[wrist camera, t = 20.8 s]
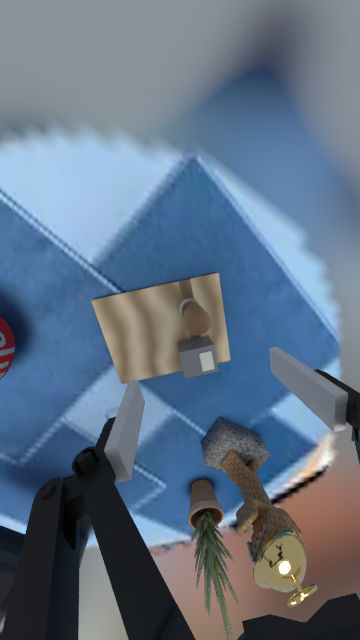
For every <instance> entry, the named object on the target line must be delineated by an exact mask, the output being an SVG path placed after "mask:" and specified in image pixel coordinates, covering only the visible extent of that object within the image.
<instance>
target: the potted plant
mask: <svg viewBox="0 0 360 640" xmlns="http://www.w3.org/2000/svg"><path fill="white" fill-rule="evenodd" d="M188 517H189V524H190V525H191V527H193V528H195V530H194V532H193V535H194V536H193V535H192V537H193V538H192V540H191V542H192V541H193V539H194V538H195V537H196V535H197V534H198V533H199V532H200V534H199V538H198V540H197V543H196V545H197V547H196V551H195V555H194V558H195V557H196V555H197V558H196V565H195V566H196V567H195V572H196V568H197V563H198V559H199V555H200V551H201V555H200V561H199V568H198V575H197V585H196V586H197V587H198V582H199V577H200V573H201V569H202V567H203V565H204V576H205V606H206V612H207V603H208V613H209V617H210V593H211V576H212V580H213V583H214V585H215V590H216V595H217V593H218V595H217V600H218V597H219V602H220V607H221V612H222V616H223V621H224V626H225V631H226V635H227V639H228V640H230V639H229V633H230V636H231V640H234V638H233V633H232V629H231V624H230V620H229V615H228V612H227V607H226V603H225V599H224V595H223V591H222V588H221V584H220V581H219V577H218V574H219V576H220V579H221V581H222V583H223V586H224V588H225V590H226V587H225V583H224V580H225V582H226V584H227V585H228V587H229V589H230V591H231V593H232V595H233V596H234V598H235V600H236V601H237V598H236V595H235V593H234V590H233V588H232V586H231V584H230V582H229V580H228V578H227V575H226V573H225V571H224V569H223V567H222V565H221V564H220V561H221V562H222V563H223V565H224V567H225V568H226V570H227V571H228V569H227V566H226V564H225V562H224V560H223V558H222V556H221V554H220V553H222V554H223V555H224V556H225V557H226V555H225V554H224V552H223V550H222V549H221V548H220V546H219V545H218V543H219V544H220V545H221V547H222V548H223V549H224V551H225V552H226V554H227V555H228V556H229V557H230V559H231V560H232V561H233V558H232V556H231V555H230V553H229V552H228V550H227V549H226V548H225V546H224V545H223V543H222V542H221V541H220V540H219V538H218V537H217V535H216V534H215V533H214V531H215V532H216V533H217V534H219V535H220V536H221V537H222V538H223V536H222V535H221V534H220V532H219V531H218V530H217V529H216V528H215V526H216V527H217V528H218V526H217V525H218V524H219V523H221V521H222V520H223V517H224V515H223V511H222V507H221V505H220V504H219V503H218V501H217V499H216V497H215V494H214V492H213V489H212V486H211V484H210V482H209V481H207V480H204V479H202V480H197V481H195V482H194V483H193V484H192V489H191V501H190V509H189V512H188ZM218 529H219V528H218ZM217 541H218V543H217ZM218 558H219V559H220V561H219V559H218ZM223 578H224V579H223ZM237 603H238V601H237ZM227 625H228V627H227ZM228 629H229V633H228Z"/></svg>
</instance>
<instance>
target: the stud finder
mask: <svg viewBox="0 0 360 640" xmlns="http://www.w3.org/2000/svg"><path fill="white" fill-rule="evenodd" d="M177 343H178V352H179V356H180V360H181V365H182V369H183V373H184V377H185V379H187V378H191V377H196V376H200V375H204V374H209V373H213V372H218V371H219V369H218V364H217V358H216V352H215V346H214V343H213V342H212V340H211V339H210V337H209V336H208V335H207V336H203V337H198V338H194V339H190V340H185V341H181V342H177Z"/></svg>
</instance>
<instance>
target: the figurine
mask: <svg viewBox="0 0 360 640" xmlns="http://www.w3.org/2000/svg"><path fill="white" fill-rule="evenodd" d="M201 446H202V451H203V456H204V461H205V465H206V466H209V467H212V468H215V469H217V470H220V471H223V472H225V473H227V475H228V476H229V478H230V479H231V480H232V482H233V483H235V484H236V485H237V486H238V487H239V488H240V490H241V493H242V496H243V499H244V501H245V503H244V504H243V505H242V506H241V508H240V509H239V510H238V511H237V512H236V517H237V522H238V526H237V528H236V529H237V532H238V534H240V535H241V534H242V533H243V531H244V530H245V529H246V528H247V527H248V526H249V525H250V524H252V525H254V526H253V530H254V532H253V534H252V537H251V538H252V542H247V546H248V550H249V554H250V558H251V561H252V562H255V565H254V569H253V578H254V580H255V582H256V584H257V585H259V586H260V587H263V588H273V589H275V590H277V591H280V592H290V591H293V590H294V589H296V590H297V592H298V593H295V594H293V595H292V596H291V597H290V598H289V599H288V601H287V605H288V606H289V607H295V606H297V605H298V604H300V603H301V602H302V601H303V599H304V598H306V597H308V596H309V595H311V594H312V593H314V592H315V591H316V590H317V586H316V584H312V585H310V586H308V587H307V588H305V589H304V590H302V588H301V587H300V584H301V582H302V581H303V579H304V577H305V573H306V568H307V557H306V552H305V548H304V545H303V543H302V541H301V539H300V537H301V536H302V532H301V531H300V529H299V528H298V527H297V525H296V524H295V522H294V521H293V520H292V519H291V517H290V516H289V515H288V514H287V512H286V511H284V510H283V509H280V508H276V507H273V506H272V504H271V501H270V499H269V498H268V496H267V494H266V492H265V490H264V488H263V486H262V484H261V482H260V480H259V478H258V476H257V474H258V473H257V471H258V469H259V468H260V467H261V466H262V465H263V464H264V462H265V461H266V460H267V459H268V458H269V457H270V456H271V455H270V453H269V451H268V450H267V448H266V446H265V445H264V443H263V441H262V439H261V438H260V436H259V434H257V433H255V432H252V431H250V430H248V429H246V428H243V427H241V426H239V425H236V424H234V423H232V422H230V421H227V420H225V419H223V418H221V417H219V419H218V420H217V421H216V423H215V424H214V425H213V427H212V428H211V430H210V431H209V432H208V434H207V435H206V436H205V438H204V439H203V440H202V442H201Z"/></svg>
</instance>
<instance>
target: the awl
mask: <svg viewBox="0 0 360 640" xmlns="http://www.w3.org/2000/svg"><path fill="white" fill-rule="evenodd" d="M182 317H183V320H184V323H185V326H186V328H187V330H188V331H189V332H190V333H191V334H194V335H202V334H204V333H206V332H207V331H208V330H209V328H210V326H211V318H210V316H209V314H208V313H207V312H206V311H205V310H204V309H203V308H202V307H201V306H200V305H199V304H197V303H195V302H192V301H188V302H186V303H185V304H184V305H183V306H182Z"/></svg>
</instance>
